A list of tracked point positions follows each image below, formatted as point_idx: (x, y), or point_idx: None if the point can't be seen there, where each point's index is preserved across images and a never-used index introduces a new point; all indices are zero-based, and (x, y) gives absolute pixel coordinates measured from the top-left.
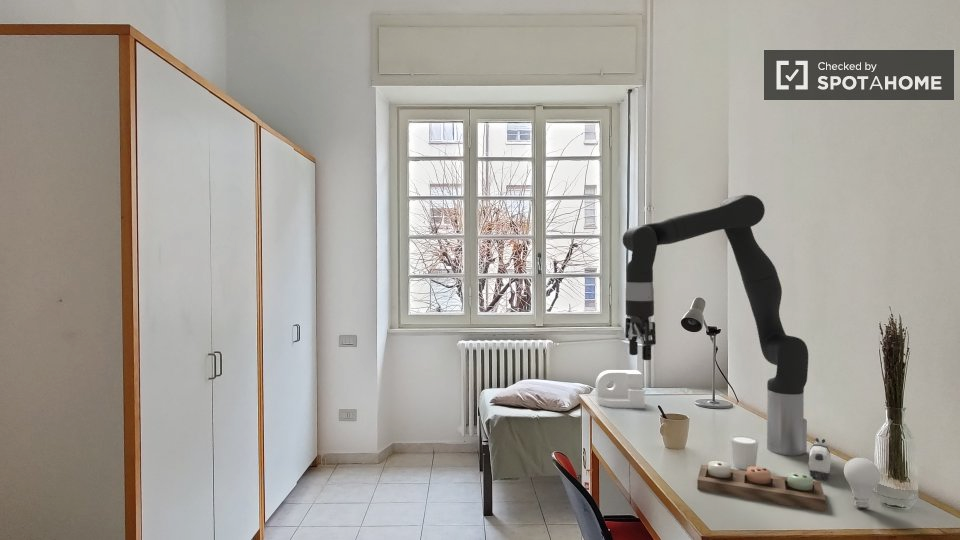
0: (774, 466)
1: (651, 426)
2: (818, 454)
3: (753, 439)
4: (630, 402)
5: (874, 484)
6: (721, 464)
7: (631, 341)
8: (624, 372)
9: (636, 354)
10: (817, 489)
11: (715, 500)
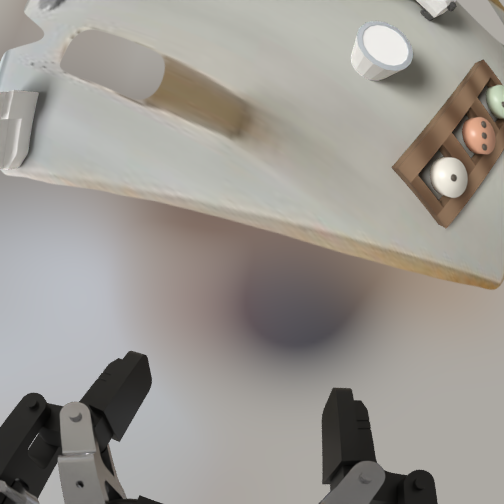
0: None
1: (108, 108)
2: (453, 5)
3: (383, 25)
4: (24, 116)
5: None
6: (455, 175)
7: (110, 437)
8: None
9: (145, 358)
10: None
11: (467, 223)
